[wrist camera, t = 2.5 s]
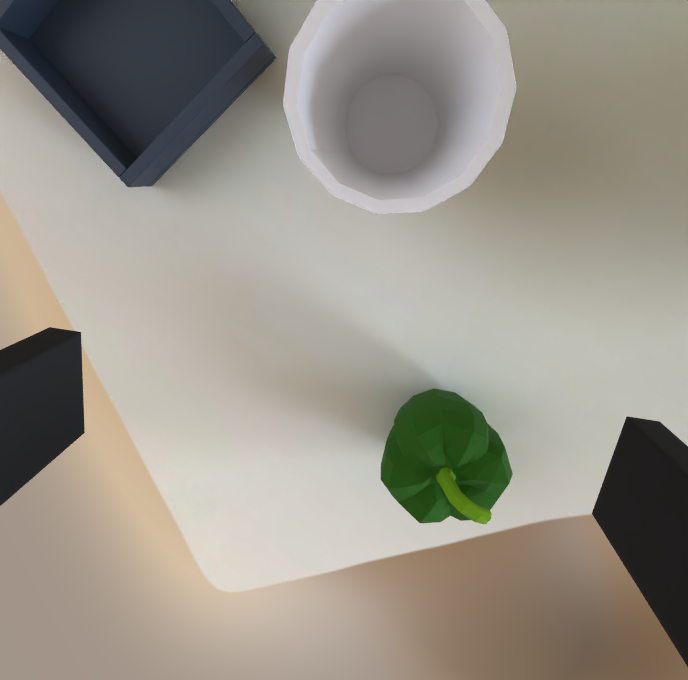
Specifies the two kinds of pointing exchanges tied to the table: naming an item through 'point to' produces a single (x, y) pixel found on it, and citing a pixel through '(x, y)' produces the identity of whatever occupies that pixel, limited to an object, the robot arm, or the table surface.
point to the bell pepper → (444, 459)
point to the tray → (135, 71)
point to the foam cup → (398, 98)
